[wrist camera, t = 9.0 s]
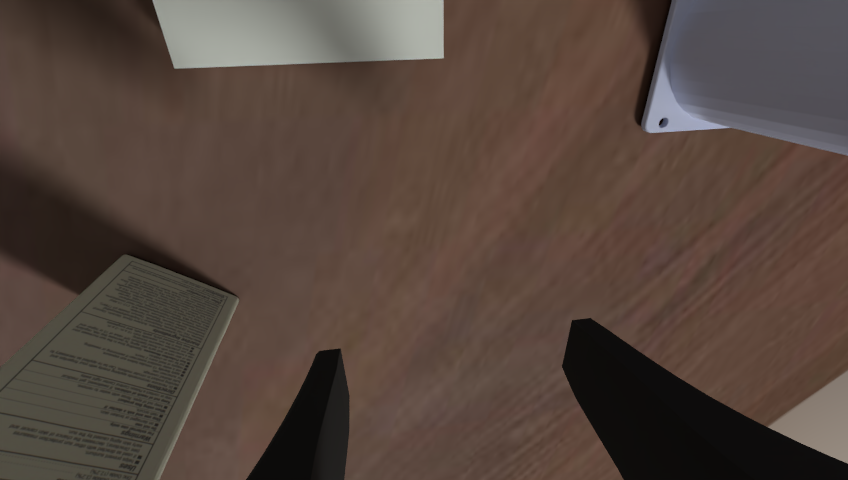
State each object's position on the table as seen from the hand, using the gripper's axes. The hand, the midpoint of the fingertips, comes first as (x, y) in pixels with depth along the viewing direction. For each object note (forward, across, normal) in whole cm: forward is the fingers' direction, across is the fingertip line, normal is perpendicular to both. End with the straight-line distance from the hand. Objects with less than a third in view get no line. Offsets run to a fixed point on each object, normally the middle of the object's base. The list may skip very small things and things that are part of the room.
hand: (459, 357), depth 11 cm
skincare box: (+11, +14, +4) cm, 18 cm away
